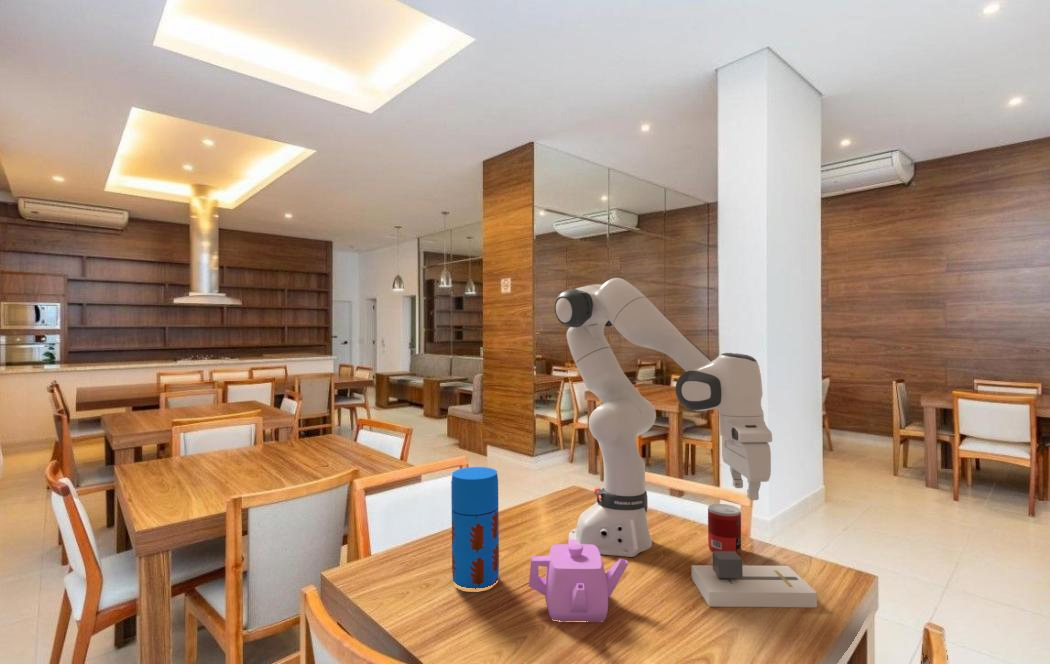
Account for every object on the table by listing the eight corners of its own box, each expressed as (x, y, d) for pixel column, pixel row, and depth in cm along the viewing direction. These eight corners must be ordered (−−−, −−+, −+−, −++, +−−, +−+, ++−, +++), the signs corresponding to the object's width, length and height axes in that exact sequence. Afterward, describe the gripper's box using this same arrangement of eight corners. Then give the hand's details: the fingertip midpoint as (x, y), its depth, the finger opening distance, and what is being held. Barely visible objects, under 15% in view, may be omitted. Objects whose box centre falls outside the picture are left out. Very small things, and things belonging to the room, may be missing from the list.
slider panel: (709, 606, 103) (708, 591, 103) (691, 578, 115) (691, 564, 115) (817, 607, 102) (816, 592, 102) (788, 578, 114) (788, 565, 114)
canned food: (744, 558, 125) (743, 514, 125) (710, 555, 127) (710, 512, 127) (737, 545, 133) (737, 504, 133) (706, 543, 134) (705, 502, 134)
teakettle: (571, 577, 116) (571, 524, 116) (633, 605, 104) (632, 546, 104) (519, 605, 105) (518, 546, 105) (581, 640, 92) (581, 573, 92)
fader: (719, 580, 107) (718, 559, 107) (712, 571, 111) (712, 551, 111) (742, 580, 107) (742, 559, 107) (735, 572, 111) (735, 551, 111)
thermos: (507, 575, 117) (506, 469, 117) (484, 597, 108) (483, 481, 108) (467, 566, 122) (466, 464, 122) (442, 587, 112) (441, 476, 112)
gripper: (713, 422, 118) (716, 481, 117) (742, 435, 97) (745, 507, 97) (741, 421, 117) (744, 481, 116) (775, 434, 97) (779, 507, 96)
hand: (745, 493), depth 106 cm, fingers open, 8 cm apart
